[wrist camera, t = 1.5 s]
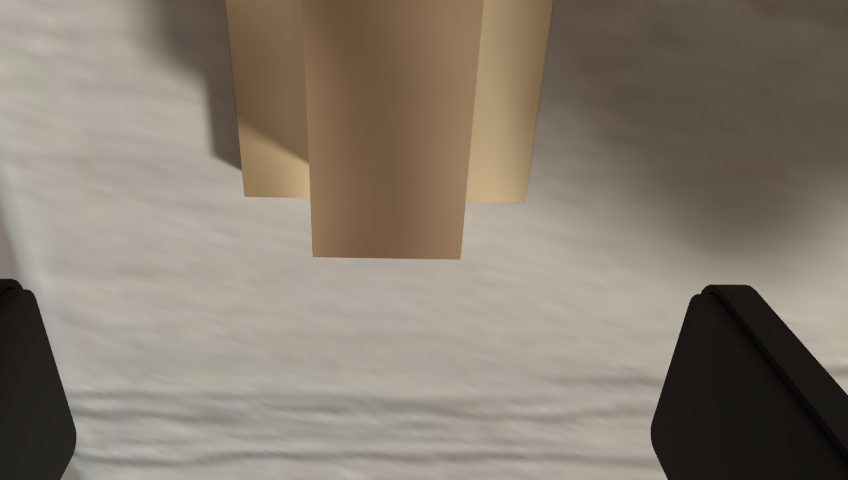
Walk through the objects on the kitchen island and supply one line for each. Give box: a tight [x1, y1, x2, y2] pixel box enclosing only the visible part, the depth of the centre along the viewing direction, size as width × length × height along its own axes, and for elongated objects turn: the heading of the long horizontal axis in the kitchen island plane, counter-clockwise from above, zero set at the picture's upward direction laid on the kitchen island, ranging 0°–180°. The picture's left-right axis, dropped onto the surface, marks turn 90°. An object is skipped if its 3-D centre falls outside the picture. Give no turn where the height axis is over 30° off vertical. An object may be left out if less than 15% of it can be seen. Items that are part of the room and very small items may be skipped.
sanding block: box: [302, 0, 484, 259], centre depth 20 cm, size 4×8×6 cm, turn 177°
